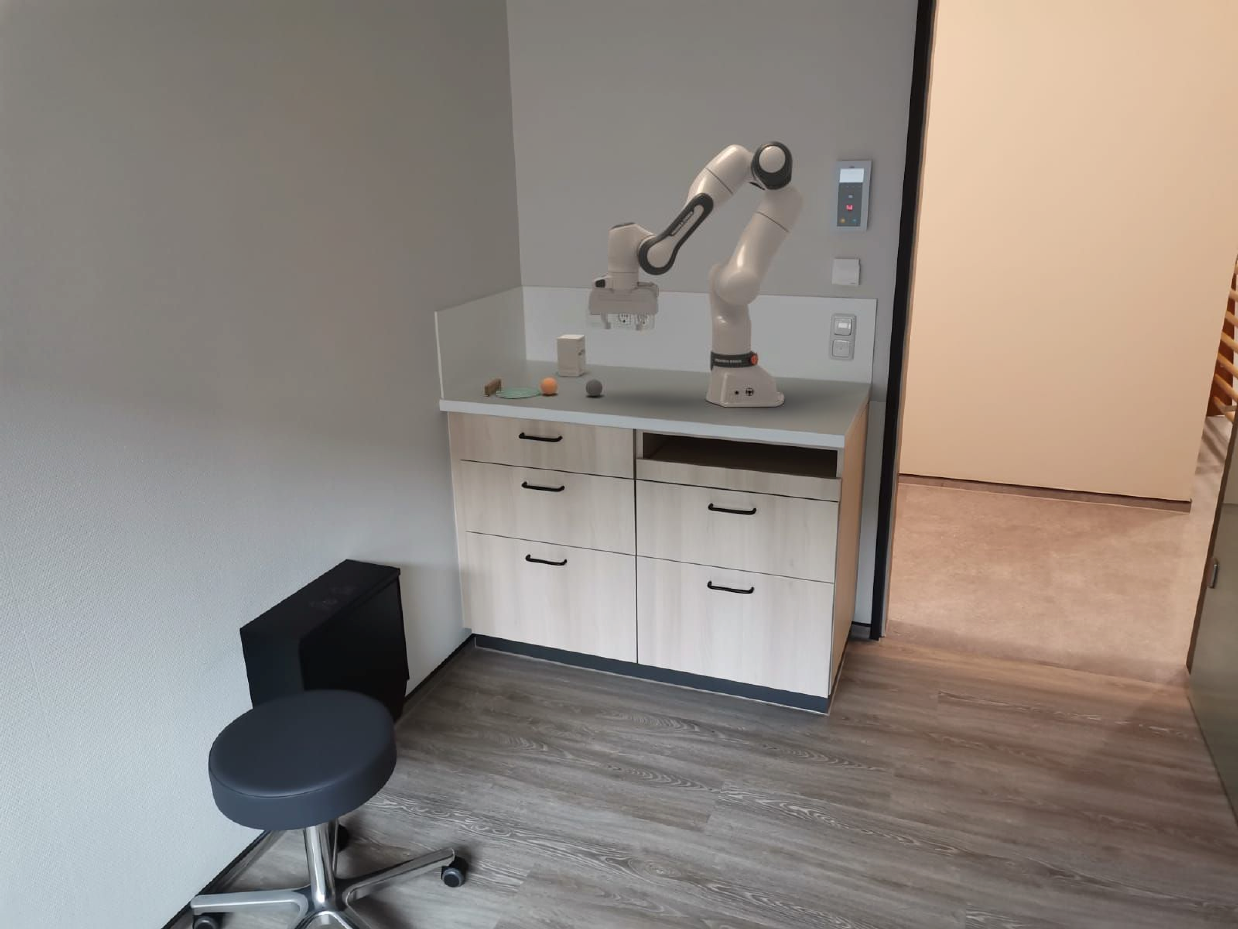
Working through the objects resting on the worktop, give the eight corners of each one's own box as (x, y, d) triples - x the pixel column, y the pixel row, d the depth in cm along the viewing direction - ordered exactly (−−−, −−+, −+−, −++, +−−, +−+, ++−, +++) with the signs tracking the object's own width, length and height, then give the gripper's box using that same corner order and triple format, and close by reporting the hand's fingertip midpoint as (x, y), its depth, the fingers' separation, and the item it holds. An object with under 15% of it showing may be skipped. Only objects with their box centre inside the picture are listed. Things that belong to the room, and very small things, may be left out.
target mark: (546, 388, 284) (546, 387, 284) (532, 399, 271) (532, 399, 271) (504, 386, 287) (504, 386, 287) (488, 397, 274) (488, 397, 274)
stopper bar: (501, 388, 285) (500, 378, 284) (489, 396, 276) (489, 386, 275) (496, 388, 286) (496, 378, 285) (485, 396, 276) (484, 386, 275)
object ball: (559, 392, 279) (559, 376, 277) (555, 396, 274) (554, 380, 272) (544, 391, 280) (543, 375, 278) (539, 396, 275) (538, 379, 273)
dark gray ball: (604, 394, 275) (604, 377, 274) (600, 398, 271) (599, 381, 269) (588, 393, 277) (587, 377, 275) (584, 397, 272) (583, 381, 270)
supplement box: (578, 377, 297) (577, 338, 293) (557, 376, 300) (555, 337, 296) (586, 372, 304) (585, 334, 300) (566, 371, 306) (564, 333, 302)
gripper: (661, 281, 261) (660, 329, 266) (592, 278, 266) (593, 326, 271) (656, 283, 256) (655, 333, 260) (586, 281, 261) (587, 329, 265)
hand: (623, 329), depth 265 cm, fingers open, 8 cm apart
